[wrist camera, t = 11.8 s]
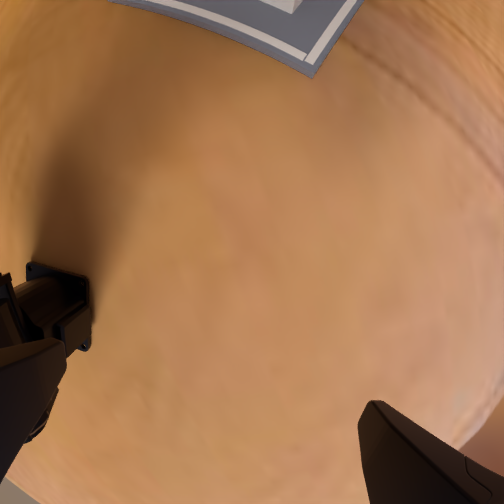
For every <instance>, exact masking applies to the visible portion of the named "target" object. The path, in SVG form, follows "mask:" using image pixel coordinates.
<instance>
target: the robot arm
mask: <svg viewBox="0 0 504 504" xmlns="http://www.w3.org/2000/svg"><path fill="white" fill-rule="evenodd" d="M31 267H32V269H31ZM11 281H12V278H11V275H10V272H9V273H6V274H3V275H2V274H1V272H0V484H1V482H2V480H3V478H4V476H5V475H6V473H7V471H8V469H9V468H10V466H11V464H12V462H13V461H14V459H15V457H16V456H17V454H18V452H19V451H20V449H21V447H22V446H23V444H25V443H28V442H30V441H32V439H33V438H34V437H36V436H37V435H38V434H39V433H40V432H41V431H42V430H43V428H44V427H45V425H46V423H47V420H48V418H49V415H50V412H51V409H52V407H53V404H54V401H55V399H56V396H57V394H58V391H59V389H58V387H57V386H58V385H59V383H60V381H61V379H62V377H63V375H64V373H65V371H66V368H67V362H66V358H68V357H69V356H70V355H71V354H72V353H73V352H74V351H75V350H76V349H78V350H81V351H84V352H86V351H88V350H89V349H90V335H91V313H90V305H89V281H88V279H87V278H86V277H85V276H82V275H78V274H75V273H71V272H67V271H64V270H60V269H57V268H53V267H50V266H46V265H43V264H39V263H36V262H32V261H31V262H28V263H27V264H26V282H24V283H22V284H20V285H18V286H16V287H14V288H13V286H12V283H11ZM81 281H83V283H84V285H82V283H81ZM83 344H84V345H85V346H86V347H85V346H84V345H83ZM358 435H359V443H360V452H361V461H362V469H363V474H364V478H365V483H366V487H367V492H368V496H369V501H370V504H504V477H503V476H501V475H499V474H497V473H495V472H493V471H491V470H489V469H487V468H485V467H483V466H481V465H480V464H478V463H477V462H475V461H473V460H471V459H470V458H468V457H467V456H465V457H464V454H462V453H460V452H459V451H457V450H456V449H454V448H453V447H451V446H449V445H448V444H446V443H445V442H443V441H442V440H440V439H439V438H437V437H436V436H434V435H433V434H431V433H429V432H428V431H426V430H425V429H423V428H422V427H420V426H419V425H417V424H416V423H415V422H413V421H412V420H410V419H409V418H407V417H406V416H404V415H403V414H401V413H400V412H398V411H397V410H395V409H394V408H393V407H391V406H390V405H388V404H387V403H385V402H384V401H381V400H371V401H369V402H368V403H367V405H366V407H365V409H364V411H363V413H362V415H361V417H360V419H359V422H358Z"/></svg>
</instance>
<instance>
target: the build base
mask: <svg viewBox="0 0 504 504" xmlns="http://www.w3.org/2000/svg"><path fill="white" fill-rule="evenodd" d="M107 1H109V2H114V3H118V4H123V5H128V6H132V7H136V8H140V9H144V10H148V11H152V12H155V13H159V14H162V15H166V16H169V17H172V18H175V19H178V20H182V21H185V22H188V23H190V24H193V25H196V26H199V27H202V28H205V29H207V30H210V31H213V32H215V33H218V34H220V35H223V36H225V37H228V38H230V39H232V40H235V41H237V42H240V43H242V44H244V45H246V46H249V47H251V48H253V49H255V50H257V51H259V52H262V53H264V54H266V55H268V56H270V57H272V58H274V59H276V60H278V61H280V62H282V63H284V64H286V65H288V66H290V67H291V68H293V69H295V70H297V71H299V72H301V73H303V74H304V75H306V76H308V77H310V78H311V79H312V78H313V76H314V75H315V73H316V72H317V70H318V69H319V67H320V66H321V64H322V63H323V61H324V60H325V58H326V56H327V55H328V53H329V52H330V50H331V49H332V47H333V46H334V44H335V43H336V41H337V40H338V38H339V37H340V35H341V34H342V32H343V31H344V29H345V28H346V26H347V25H348V23H349V22H350V21H351V19H352V18H353V16H354V15H355V13H356V12H357V10H358V9H359V7H360V6H361V5H362V3H363V2H364V0H107Z"/></svg>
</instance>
